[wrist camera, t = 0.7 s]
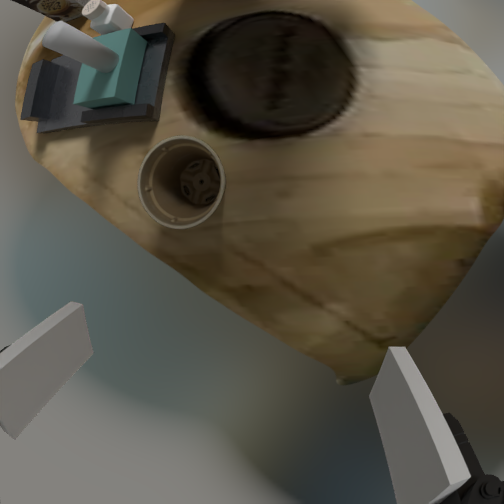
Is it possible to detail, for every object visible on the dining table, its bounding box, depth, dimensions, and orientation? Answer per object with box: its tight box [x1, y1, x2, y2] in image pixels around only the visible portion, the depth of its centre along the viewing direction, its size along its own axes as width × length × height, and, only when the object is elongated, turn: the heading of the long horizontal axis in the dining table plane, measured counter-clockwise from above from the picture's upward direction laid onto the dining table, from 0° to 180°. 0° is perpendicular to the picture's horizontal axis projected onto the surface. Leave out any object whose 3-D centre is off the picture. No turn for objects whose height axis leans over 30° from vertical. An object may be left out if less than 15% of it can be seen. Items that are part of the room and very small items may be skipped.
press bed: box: [20, 23, 175, 133], centre depth 29 cm, size 14×24×6 cm, turn 84°
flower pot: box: [138, 135, 226, 229], centre depth 30 cm, size 9×9×9 cm
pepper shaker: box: [82, 0, 134, 35], centre depth 25 cm, size 4×4×10 cm
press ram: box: [42, 21, 147, 110], centre depth 22 cm, size 10×7×16 cm
